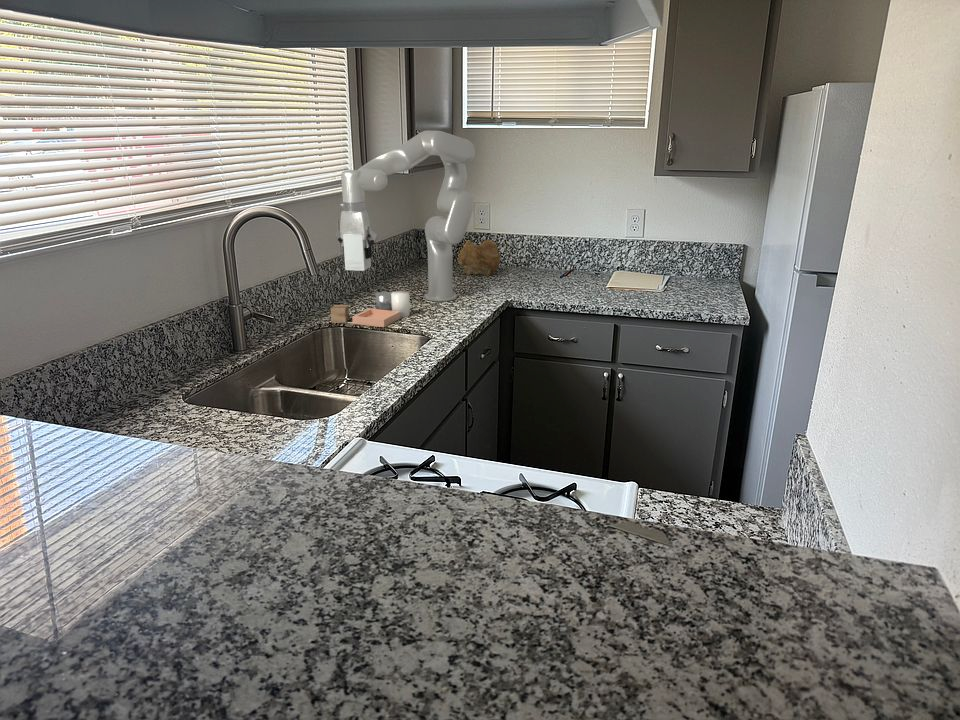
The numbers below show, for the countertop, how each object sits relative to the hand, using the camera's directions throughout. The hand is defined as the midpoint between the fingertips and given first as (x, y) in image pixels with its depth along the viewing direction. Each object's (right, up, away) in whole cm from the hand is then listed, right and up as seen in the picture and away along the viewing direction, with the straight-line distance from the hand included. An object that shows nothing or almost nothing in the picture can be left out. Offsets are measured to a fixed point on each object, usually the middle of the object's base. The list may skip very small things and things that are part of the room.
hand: (357, 257), depth 246 cm
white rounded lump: (+15, -20, +2) cm, 25 cm away
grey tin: (+8, -18, +9) cm, 22 cm away
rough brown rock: (+45, +3, +72) cm, 85 cm away
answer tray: (+8, -23, -6) cm, 25 cm away
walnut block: (-5, -23, -5) cm, 24 cm away
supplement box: (0, -4, +1) cm, 4 cm away
